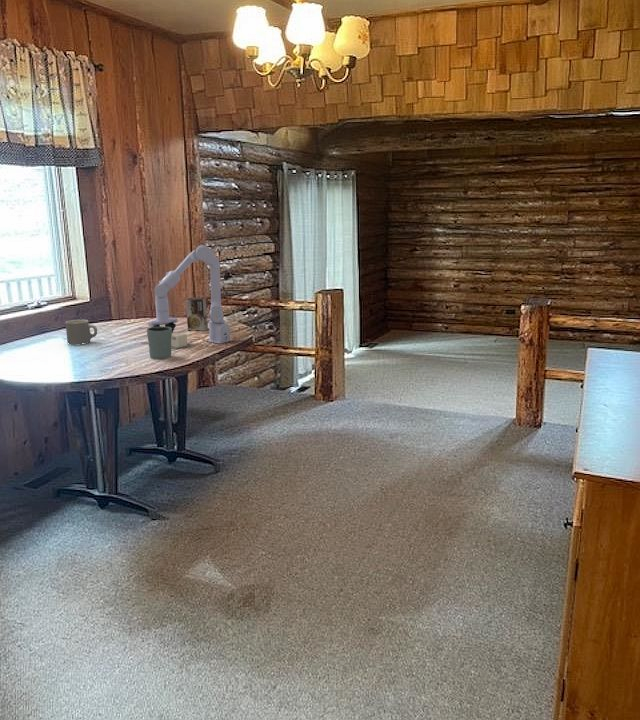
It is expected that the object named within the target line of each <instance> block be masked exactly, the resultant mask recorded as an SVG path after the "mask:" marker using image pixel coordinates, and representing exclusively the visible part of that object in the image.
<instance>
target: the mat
mask: <svg viewBox="0 0 640 720" xmlns="http://www.w3.org/2000/svg"><path fill="white" fill-rule="evenodd" d="M140 343H141V344H143V343H146V344H145V345H149V342H148V340H146V341H141V342H140ZM191 345H193V346H194V344H193V343H188V342H187V346H188V347H191ZM187 346H182V347H184V348H187ZM182 347H174V346H171V350H179V349H183V348H182ZM178 348H179V349H178Z"/></svg>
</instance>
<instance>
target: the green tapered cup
mask: <svg viewBox="0 0 640 720" xmlns="http://www.w3.org/2000/svg"><path fill="white" fill-rule="evenodd" d="M146 333H147V341H148V342H149V344H148V348H149V350H148V352H149V358H150V359H152V358H153V360H165V359H164V358H166V359H169V357H170V358H172V349H171V339H172V328H171V327H165V325H164V326H162V325H161V326H160V327H148V328H147V329H146Z"/></svg>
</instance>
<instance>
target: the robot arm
mask: <svg viewBox="0 0 640 720" xmlns="http://www.w3.org/2000/svg"><path fill="white" fill-rule="evenodd" d="M198 261H201V262H203V263H205V264H206V265H207V266H208V267H209V271H210V272H209V275H210V309H209V312H208V313H209V321H208V330H209V339H206V340H205V342H207V341H208V342H207V343H213V342H214V343H213V344H219V345H220V344H223V343H224V344H225V343H228V342H232V341H233V340H232V339H231V327H230V325H229V324H227V323H226V322H225V319H224V317H225V315H224V312H223V309H222V296H221V295H222V293H221V292H222V291H221V290H222V289H221V262H220V260H219V259H218V257H217V256H216V255H215V254H214V252H213V250H212V248H209V247H208V246H206V245H204V244H201V245H198V246H197V247H196V248H195V249H193V250H192V251H191V252H190V253H189V254H187V256H186V257H185V258H184V259H183V260H182V261H181V262H180V263H179V265H178V266H177V267H176V269H175V270H169V271H167V272H166V273H165V276H164V277H163V278H162V279H161V280H159V281H158V284H157V285H156V286H155V287H154V291H153V292H154V293H153V294H154V295H155V297H154V299H155V315H156V320H153V321H148V328H151V327H161V326H162V325H164V327H171V328H172V332H174V330H175V328H176V326H177V324H178V318H177V317H173V318H172V317H171V318H170V305H169V299H168V293H169V291H170V290H173V289H174V287H175V286H176V285H177V283H179V282H180V280H181V274H182V273H184V272H185V270H187V268H189V267H190V265H191V264H192V263H196V262H198Z"/></svg>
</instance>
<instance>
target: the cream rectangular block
mask: <svg viewBox="0 0 640 720" xmlns="http://www.w3.org/2000/svg"><path fill="white" fill-rule="evenodd" d="M187 343H188V336H187V334H186V333H181V332H174V331H173V332H172V339H171V346H174V347H182V346H187Z"/></svg>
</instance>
